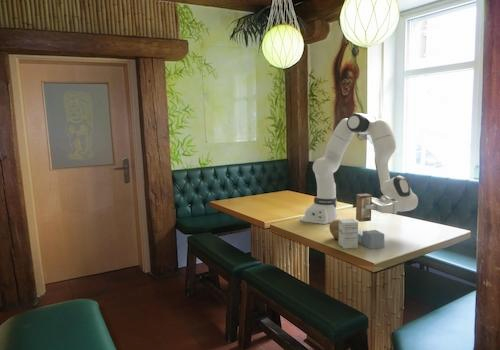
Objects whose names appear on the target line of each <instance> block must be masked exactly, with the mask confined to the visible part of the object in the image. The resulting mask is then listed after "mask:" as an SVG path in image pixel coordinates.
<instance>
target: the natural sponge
mask: <svg viewBox="0 0 500 350" xmlns="http://www.w3.org/2000/svg"><path fill="white" fill-rule="evenodd" d="M328 228H329V232H330V234H331V235H332V237H333V238H334V239H335V240H339V219H338V220H334V221H332V222H331V223H329V224H328Z"/></svg>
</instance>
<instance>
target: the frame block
mask: <svg viewBox="0 0 500 350" xmlns="http://www.w3.org/2000/svg"><path fill="white" fill-rule="evenodd" d="M372 196H373V195H372V194H370V193H359V194H358V193H357V194H356V201H355V202H356V203H355V205H356V206H355V208H356V209H355V221H357V222H358V223H360V222H361V223H362V222H363V223H364V222H371V221H372V209H365V208H364V205H371V202H372Z"/></svg>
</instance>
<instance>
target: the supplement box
mask: <svg viewBox="0 0 500 350" xmlns="http://www.w3.org/2000/svg"><path fill="white" fill-rule="evenodd" d="M338 220H339V239H338V244H339V246H341V247H342V249H355V248H356V249H357V248H358V247H359V242H358V231H359V221H357V220H356V219H354V218H338Z"/></svg>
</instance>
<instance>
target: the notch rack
mask: <svg viewBox="0 0 500 350" xmlns="http://www.w3.org/2000/svg"><path fill="white" fill-rule="evenodd" d="M358 243H360V244H362V245H363V246H365V247H366V248H369V249H370V250H373V249H380V248H382V249H383V248H384V247H385V233H383V232H381V231H379V230H377V229H370V230H367V229H366V230H365V229H364V230H358Z"/></svg>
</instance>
